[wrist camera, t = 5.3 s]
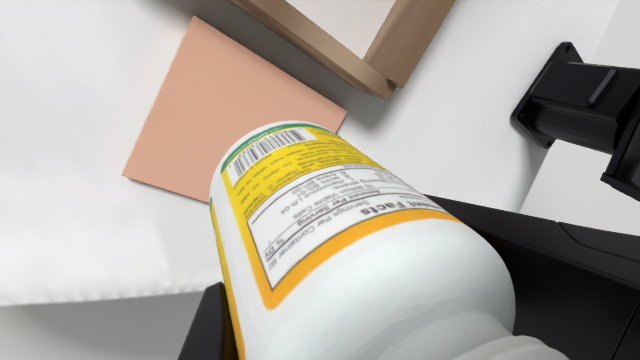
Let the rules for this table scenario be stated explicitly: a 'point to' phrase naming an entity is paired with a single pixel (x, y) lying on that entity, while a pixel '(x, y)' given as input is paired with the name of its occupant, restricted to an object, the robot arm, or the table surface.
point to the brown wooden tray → (384, 53)
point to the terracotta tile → (216, 110)
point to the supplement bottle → (352, 259)
